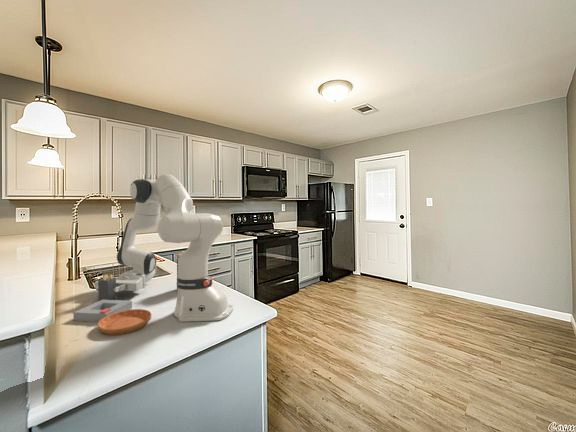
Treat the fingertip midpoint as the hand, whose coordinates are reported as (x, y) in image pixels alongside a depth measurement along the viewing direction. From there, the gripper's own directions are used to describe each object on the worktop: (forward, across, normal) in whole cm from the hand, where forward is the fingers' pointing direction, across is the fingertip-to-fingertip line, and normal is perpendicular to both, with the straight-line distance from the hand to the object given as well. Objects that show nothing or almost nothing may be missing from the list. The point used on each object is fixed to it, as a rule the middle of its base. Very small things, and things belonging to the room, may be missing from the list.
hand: (105, 289), depth 111 cm
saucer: (+19, +24, +6) cm, 31 cm away
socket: (+11, +9, +6) cm, 15 cm away
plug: (-1, 0, +6) cm, 6 cm away
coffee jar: (-21, +27, +6) cm, 35 cm away
